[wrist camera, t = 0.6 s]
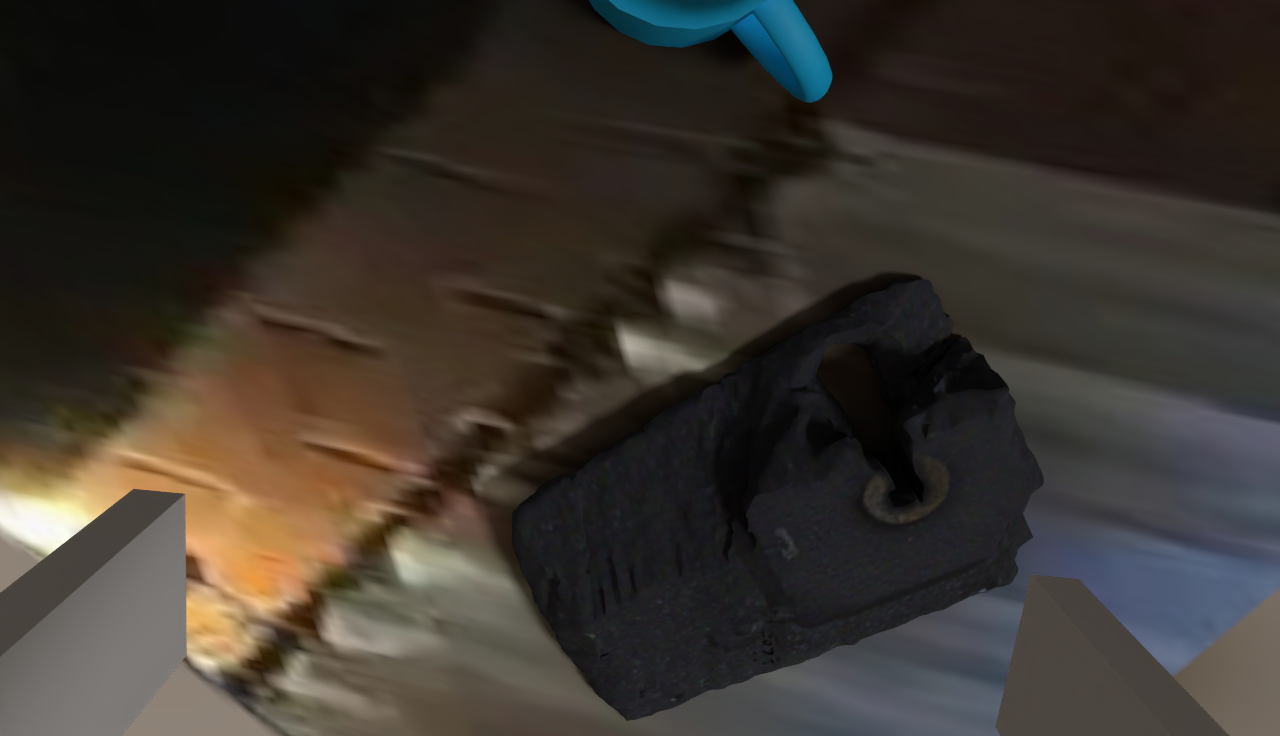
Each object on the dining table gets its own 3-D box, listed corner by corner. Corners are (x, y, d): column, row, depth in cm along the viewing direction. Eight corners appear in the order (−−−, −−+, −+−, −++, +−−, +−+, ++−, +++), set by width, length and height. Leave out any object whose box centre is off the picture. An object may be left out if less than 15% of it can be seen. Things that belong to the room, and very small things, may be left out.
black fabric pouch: (471, 454, 43) (453, 495, 38) (944, 253, 41) (985, 270, 36) (614, 733, 46) (613, 801, 42) (1054, 559, 45) (1104, 610, 40)
